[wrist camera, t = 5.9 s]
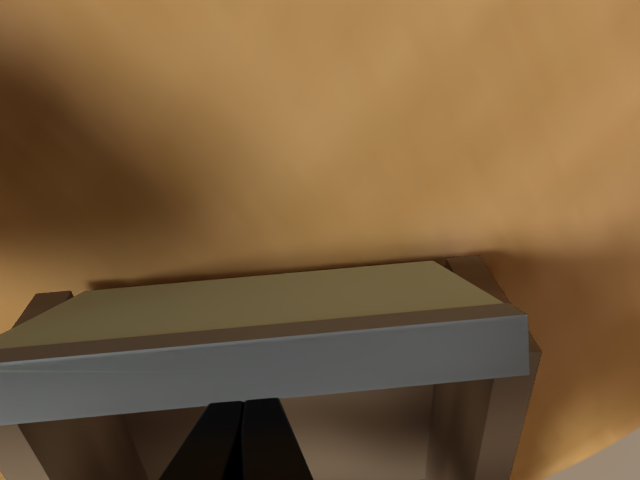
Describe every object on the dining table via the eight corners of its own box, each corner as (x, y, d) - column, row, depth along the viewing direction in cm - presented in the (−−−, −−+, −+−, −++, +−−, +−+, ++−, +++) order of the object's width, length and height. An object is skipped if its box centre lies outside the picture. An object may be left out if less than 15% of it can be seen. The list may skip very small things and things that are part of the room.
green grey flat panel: (434, 295, 14) (529, 374, 8) (90, 325, 14) (-62, 431, 8) (432, 259, 14) (528, 314, 8) (85, 289, 14) (-74, 369, 8)
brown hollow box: (439, 469, 22) (479, 598, 17) (146, 498, 21) (113, 638, 17) (468, 237, 15) (541, 351, 11) (50, 273, 15) (-43, 406, 10)
